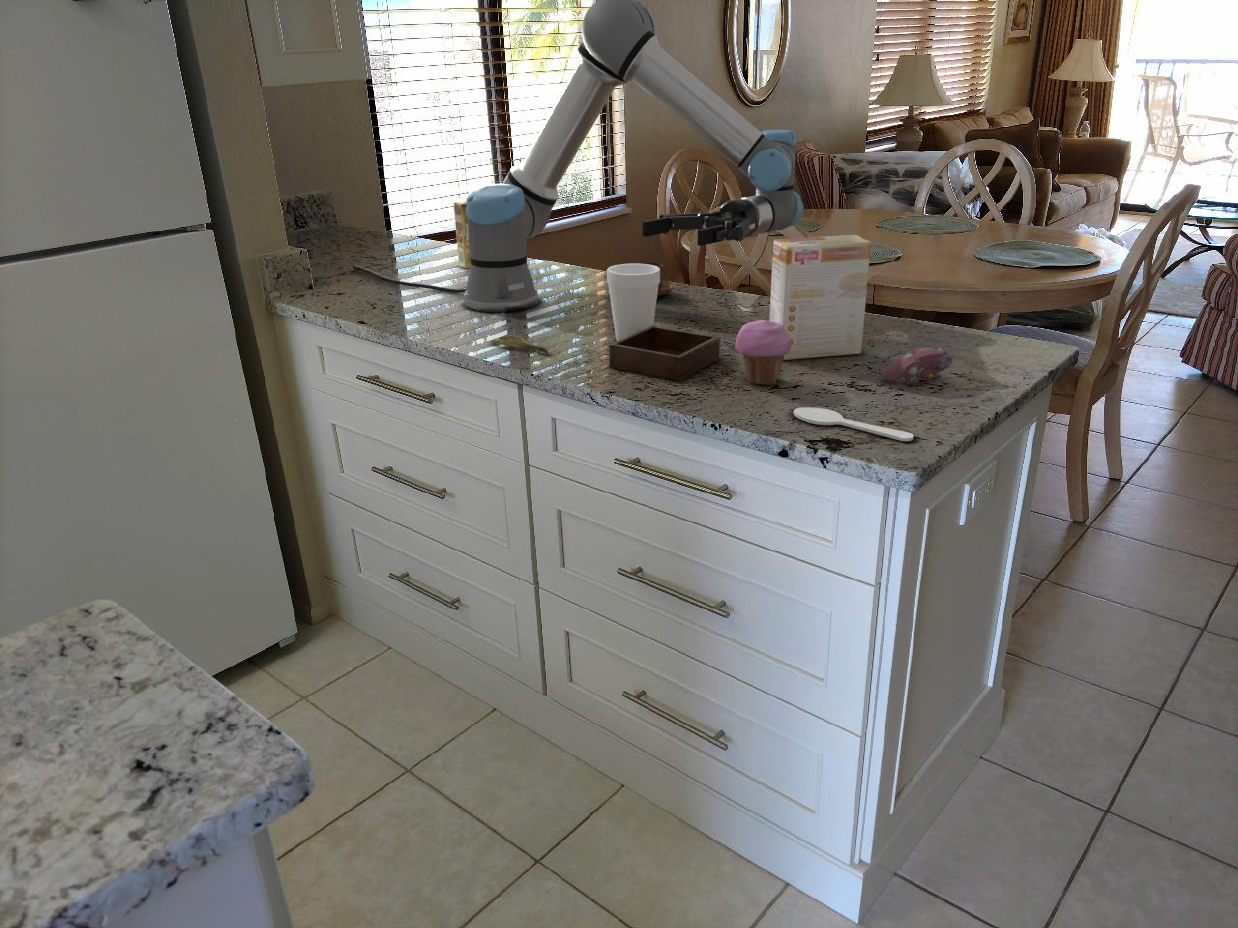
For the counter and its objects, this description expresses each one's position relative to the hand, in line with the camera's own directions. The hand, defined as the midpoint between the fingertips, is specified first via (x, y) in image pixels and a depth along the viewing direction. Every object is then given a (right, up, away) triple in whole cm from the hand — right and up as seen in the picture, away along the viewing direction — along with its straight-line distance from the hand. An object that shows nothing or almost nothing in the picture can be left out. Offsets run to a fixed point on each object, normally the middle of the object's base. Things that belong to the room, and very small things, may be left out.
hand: (670, 233), depth 175 cm
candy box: (-44, +7, +61) cm, 76 cm away
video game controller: (+38, -29, -21) cm, 52 cm away
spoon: (+23, -37, -39) cm, 59 cm away
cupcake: (+13, -29, -21) cm, 38 cm away
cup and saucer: (-4, -6, +32) cm, 33 cm away
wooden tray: (-2, -25, -12) cm, 28 cm away
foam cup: (-7, -19, +1) cm, 21 cm away
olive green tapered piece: (-27, -21, -3) cm, 34 cm away
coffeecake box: (+25, -23, -7) cm, 34 cm away
